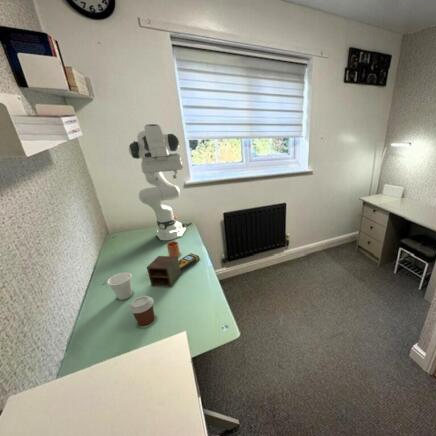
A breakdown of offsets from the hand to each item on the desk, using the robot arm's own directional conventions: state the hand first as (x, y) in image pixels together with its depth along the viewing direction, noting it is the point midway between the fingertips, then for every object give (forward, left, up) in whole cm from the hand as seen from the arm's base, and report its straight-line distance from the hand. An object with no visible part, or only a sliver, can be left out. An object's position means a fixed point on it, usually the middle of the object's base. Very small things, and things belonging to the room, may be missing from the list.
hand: (166, 179), depth 131 cm
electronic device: (+6, +5, -52) cm, 53 cm away
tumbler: (-3, -6, -52) cm, 52 cm away
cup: (+35, -12, -52) cm, 64 cm away
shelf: (+21, +2, -52) cm, 56 cm away
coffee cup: (+50, +9, -52) cm, 73 cm away
